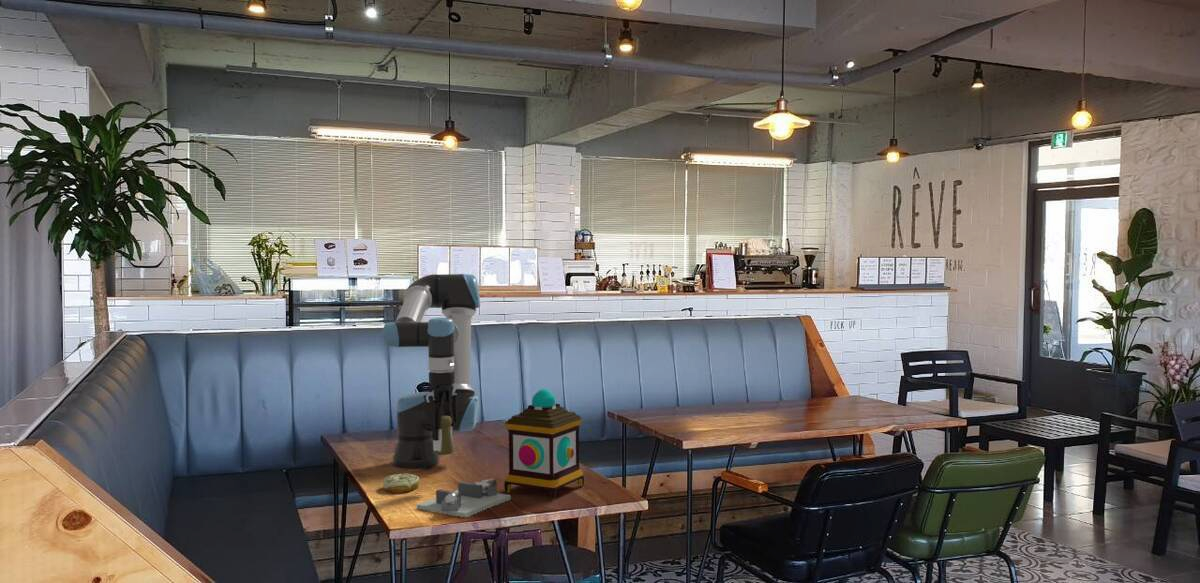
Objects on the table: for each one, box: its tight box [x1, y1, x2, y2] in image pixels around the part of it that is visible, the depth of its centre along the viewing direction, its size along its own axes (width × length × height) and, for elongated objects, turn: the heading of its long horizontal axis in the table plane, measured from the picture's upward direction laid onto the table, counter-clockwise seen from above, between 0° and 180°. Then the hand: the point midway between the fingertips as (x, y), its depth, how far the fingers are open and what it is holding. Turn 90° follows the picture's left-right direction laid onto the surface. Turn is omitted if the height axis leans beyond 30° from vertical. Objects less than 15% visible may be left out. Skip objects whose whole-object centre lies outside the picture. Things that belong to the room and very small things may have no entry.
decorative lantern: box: [503, 388, 585, 500], centre depth 261 cm, size 20×20×30 cm
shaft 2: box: [473, 477, 498, 497], centre depth 252 cm, size 6×4×4 cm
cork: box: [433, 415, 455, 456], centre depth 261 cm, size 6×6×11 cm
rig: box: [416, 481, 512, 518], centre depth 247 cm, size 17×20×5 cm
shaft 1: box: [441, 490, 461, 511], centre depth 238 cm, size 5×4×4 cm
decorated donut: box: [382, 473, 420, 494], centre depth 263 cm, size 10×11×4 cm
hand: (443, 448), depth 262 cm, fingers closed on cork, 4 cm apart
